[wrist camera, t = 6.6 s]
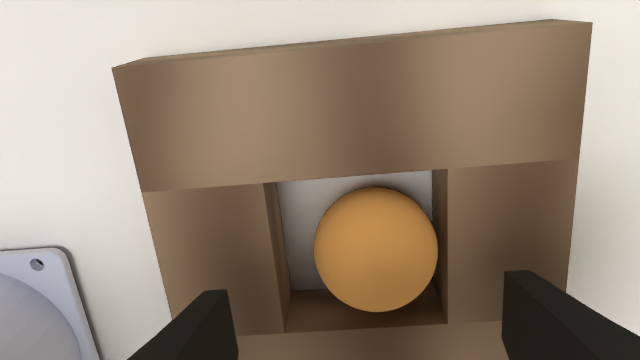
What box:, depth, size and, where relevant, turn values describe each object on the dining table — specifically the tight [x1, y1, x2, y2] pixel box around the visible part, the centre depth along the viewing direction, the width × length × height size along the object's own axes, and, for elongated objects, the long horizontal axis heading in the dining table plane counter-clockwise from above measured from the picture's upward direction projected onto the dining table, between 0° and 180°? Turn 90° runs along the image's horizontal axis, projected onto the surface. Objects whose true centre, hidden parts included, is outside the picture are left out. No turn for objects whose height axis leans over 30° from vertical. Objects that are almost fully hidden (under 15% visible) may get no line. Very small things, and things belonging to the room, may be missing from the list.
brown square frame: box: [112, 19, 593, 360], centre depth 16 cm, size 13×13×2 cm
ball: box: [314, 187, 438, 312], centre depth 16 cm, size 4×4×4 cm
